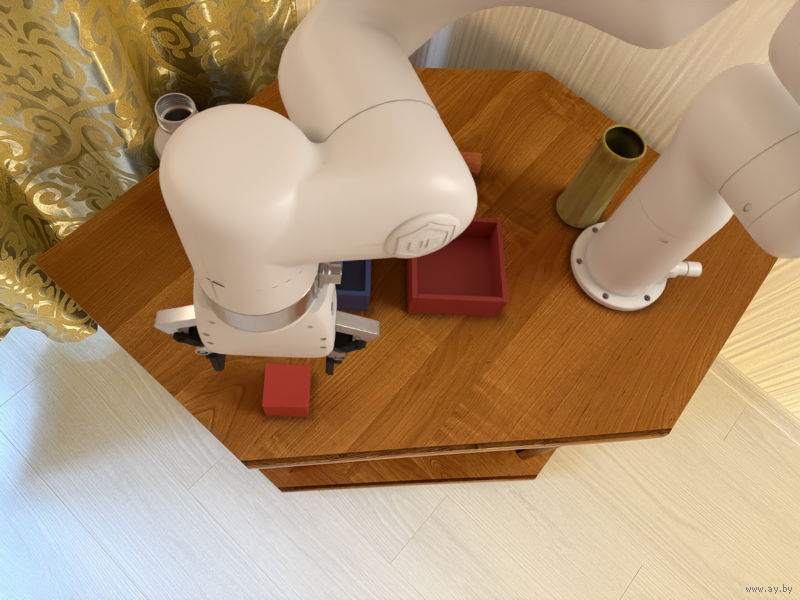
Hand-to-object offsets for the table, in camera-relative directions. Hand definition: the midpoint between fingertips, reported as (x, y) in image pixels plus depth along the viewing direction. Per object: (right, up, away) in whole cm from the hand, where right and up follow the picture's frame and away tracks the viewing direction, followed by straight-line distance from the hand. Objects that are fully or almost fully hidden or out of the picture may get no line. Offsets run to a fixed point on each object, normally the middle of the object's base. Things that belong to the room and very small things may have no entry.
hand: (276, 357), depth 54 cm
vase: (+35, +17, +27) cm, 48 cm away
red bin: (+18, +8, +21) cm, 29 cm away
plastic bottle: (-12, +15, +20) cm, 28 cm away
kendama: (+12, +23, +27) cm, 37 cm away
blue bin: (+2, +9, +19) cm, 21 cm away
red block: (-1, -6, +12) cm, 14 cm away
